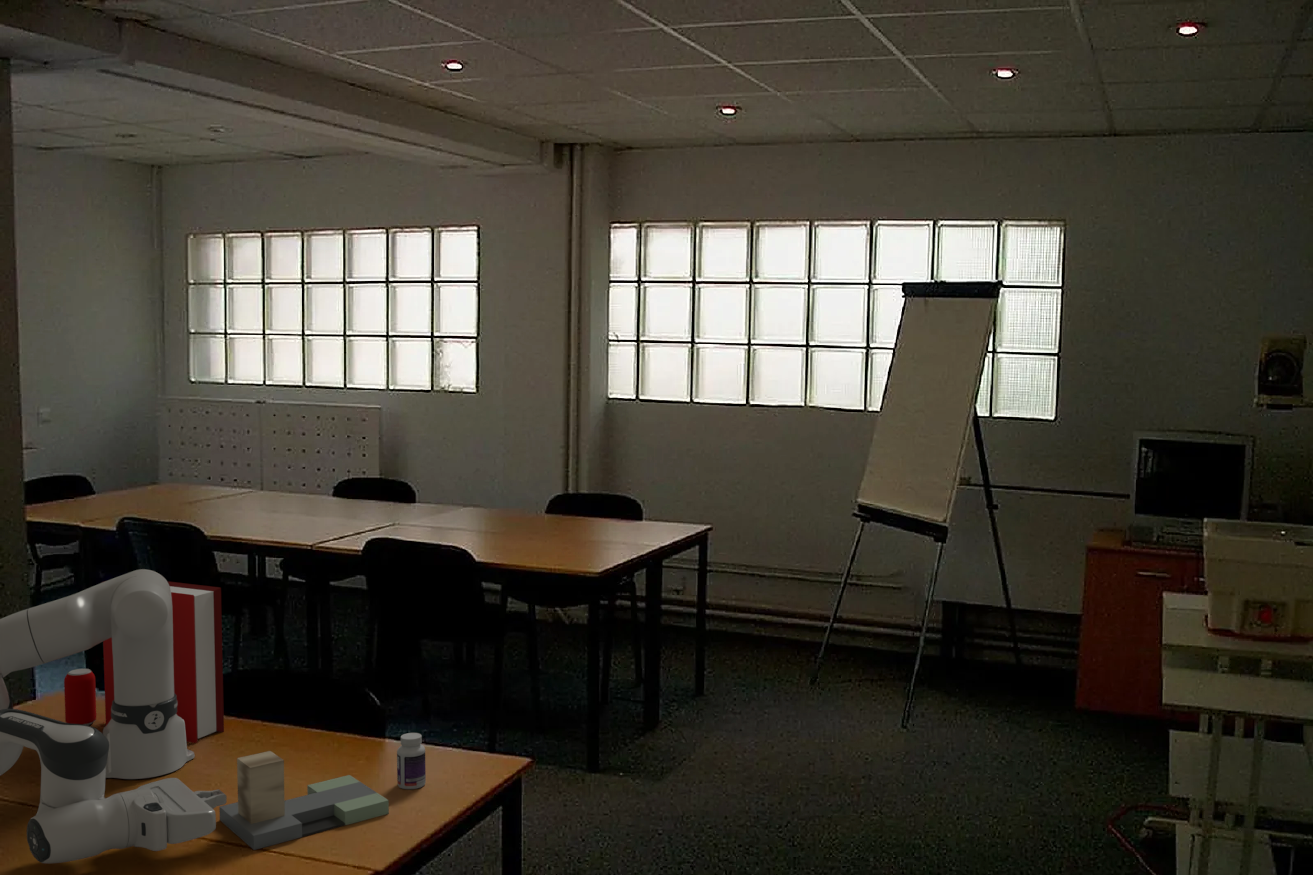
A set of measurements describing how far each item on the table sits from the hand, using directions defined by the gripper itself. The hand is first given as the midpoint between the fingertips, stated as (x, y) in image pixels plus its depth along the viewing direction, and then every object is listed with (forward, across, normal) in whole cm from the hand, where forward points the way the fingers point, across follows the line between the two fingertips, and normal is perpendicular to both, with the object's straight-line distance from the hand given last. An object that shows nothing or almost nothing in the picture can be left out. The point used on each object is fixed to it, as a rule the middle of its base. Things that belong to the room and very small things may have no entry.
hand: (223, 796), depth 207 cm
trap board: (+15, 0, -8) cm, 17 cm away
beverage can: (-3, -79, -8) cm, 80 cm away
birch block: (+7, 0, -5) cm, 8 cm away
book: (+10, -65, -8) cm, 67 cm away
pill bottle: (+37, -2, -8) cm, 38 cm away
